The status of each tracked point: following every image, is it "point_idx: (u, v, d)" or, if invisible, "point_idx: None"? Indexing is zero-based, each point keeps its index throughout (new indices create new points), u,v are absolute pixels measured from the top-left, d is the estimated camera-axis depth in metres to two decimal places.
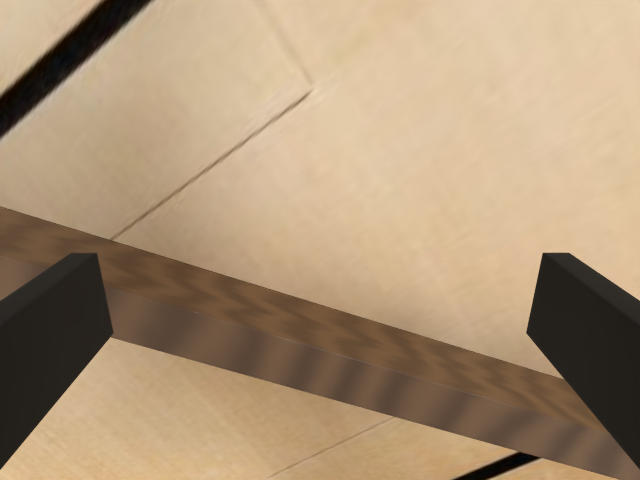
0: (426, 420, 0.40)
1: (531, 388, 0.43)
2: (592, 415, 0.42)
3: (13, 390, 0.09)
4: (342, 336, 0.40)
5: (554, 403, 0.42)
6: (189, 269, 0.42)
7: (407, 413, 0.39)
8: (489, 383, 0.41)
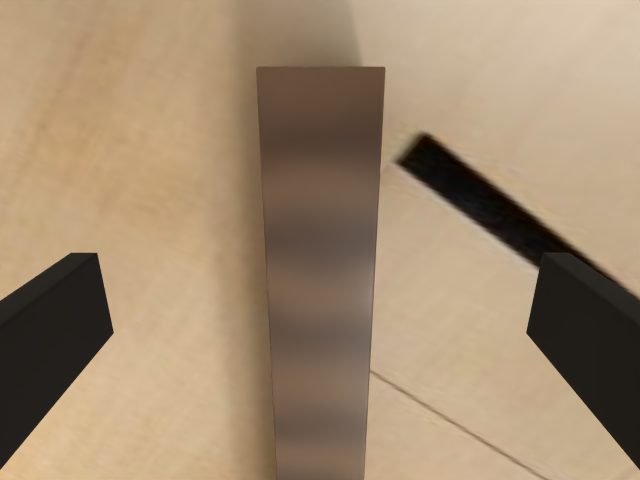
0: None
1: None
2: None
3: (13, 389, 0.09)
4: None
5: None
6: None
7: None
8: None
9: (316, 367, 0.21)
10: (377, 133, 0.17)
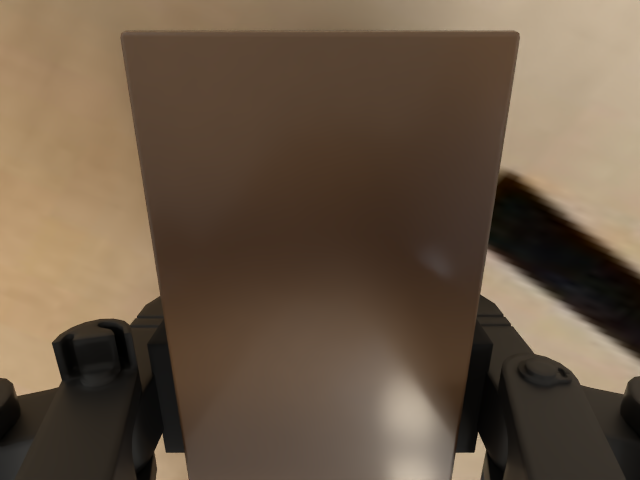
0: None
1: None
2: None
3: None
4: None
5: None
6: None
7: None
8: None
9: None
10: (480, 224, 0.06)
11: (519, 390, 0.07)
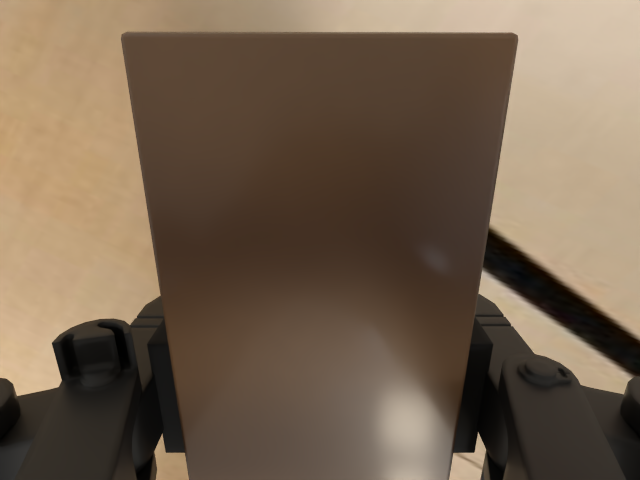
0: None
1: None
2: None
3: None
4: None
5: None
6: None
7: None
8: None
9: None
10: (478, 225, 0.06)
11: (519, 390, 0.07)
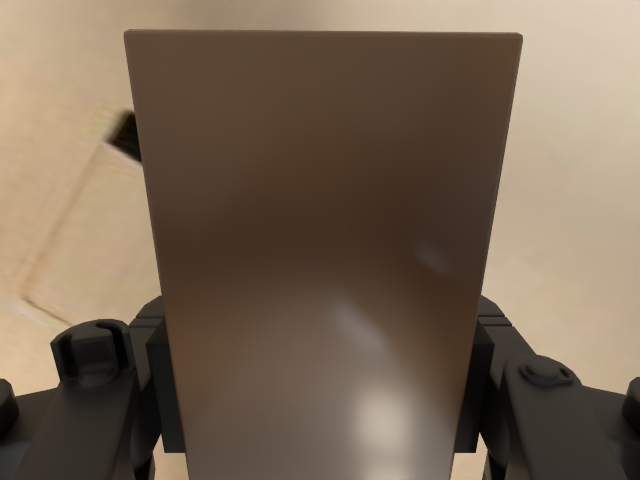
0: None
1: None
2: None
3: None
4: None
5: None
6: None
7: None
8: None
9: None
10: (481, 225, 0.06)
11: (521, 391, 0.07)
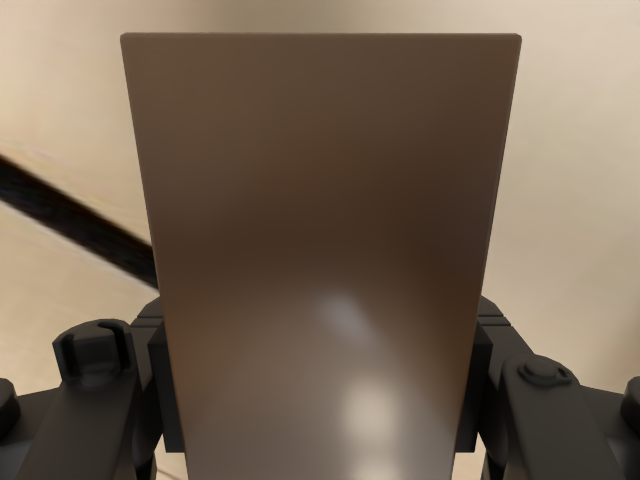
0: None
1: None
2: None
3: None
4: None
5: None
6: None
7: None
8: None
9: None
10: (481, 228, 0.06)
11: (519, 390, 0.07)
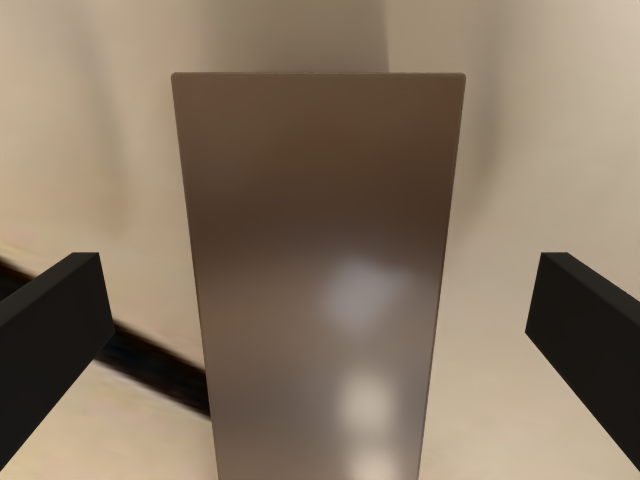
0: None
1: None
2: None
3: (16, 389, 0.09)
4: None
5: None
6: None
7: None
8: None
9: None
10: (440, 217, 0.08)
11: None
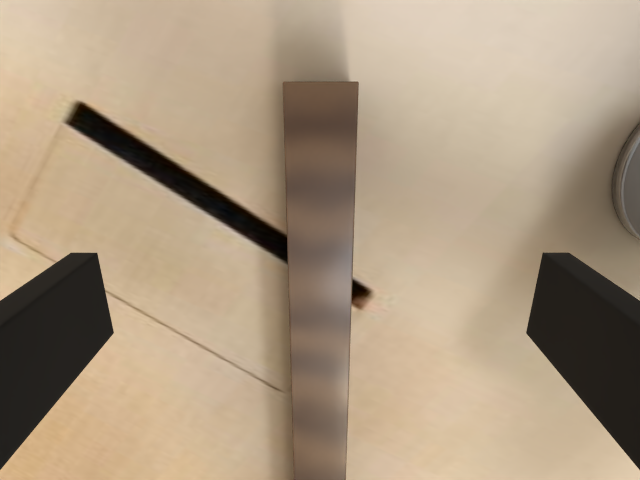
0: None
1: None
2: None
3: (13, 390, 0.09)
4: None
5: None
6: None
7: None
8: None
9: (317, 274, 0.32)
10: (354, 121, 0.28)
11: None
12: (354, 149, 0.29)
